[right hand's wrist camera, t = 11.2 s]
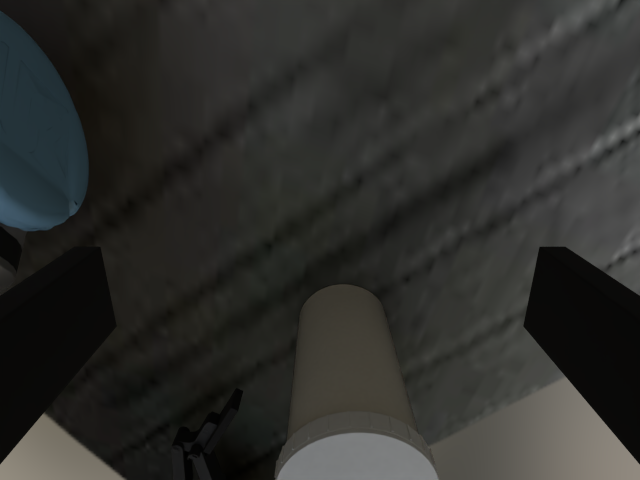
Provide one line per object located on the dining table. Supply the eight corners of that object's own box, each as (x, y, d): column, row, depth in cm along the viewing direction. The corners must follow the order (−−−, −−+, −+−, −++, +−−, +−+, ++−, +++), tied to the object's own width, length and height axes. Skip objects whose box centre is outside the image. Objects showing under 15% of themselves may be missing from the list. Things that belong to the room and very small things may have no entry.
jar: (393, 351, 46) (440, 528, 27) (310, 367, 47) (302, 549, 28) (377, 275, 42) (420, 419, 24) (288, 294, 43) (263, 447, 25)
